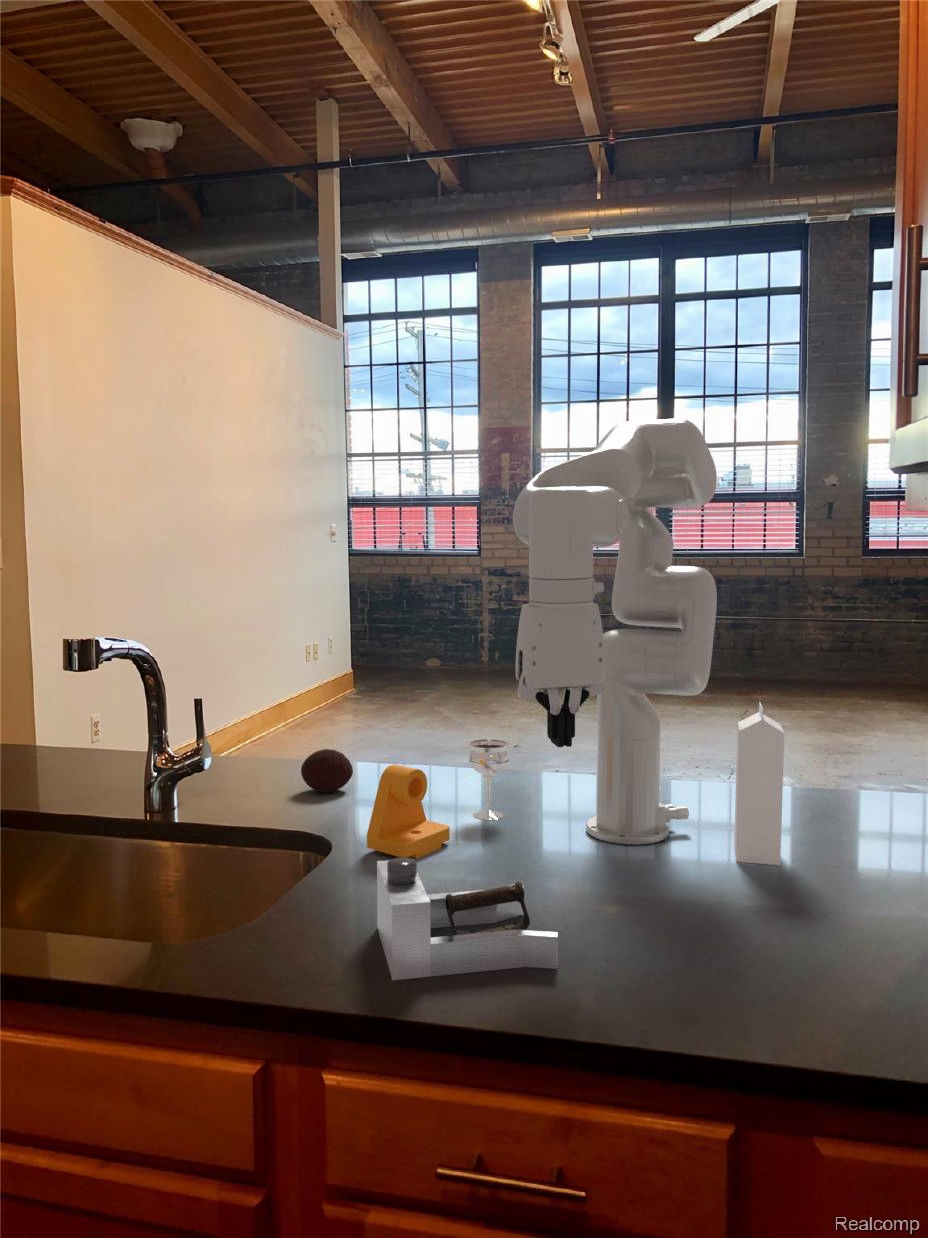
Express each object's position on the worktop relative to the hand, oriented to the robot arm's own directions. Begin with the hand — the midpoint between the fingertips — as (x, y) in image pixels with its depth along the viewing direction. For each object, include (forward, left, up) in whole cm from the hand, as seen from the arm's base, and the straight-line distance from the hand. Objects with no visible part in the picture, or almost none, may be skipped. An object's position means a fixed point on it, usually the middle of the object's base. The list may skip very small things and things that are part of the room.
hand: (561, 744), depth 109 cm
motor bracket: (+13, +7, -21) cm, 26 cm away
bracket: (+14, -26, -21) cm, 36 cm away
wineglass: (-1, -39, -21) cm, 44 cm away
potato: (+24, -59, -21) cm, 67 cm away
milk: (-34, -12, -21) cm, 41 cm away
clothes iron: (+12, +9, -21) cm, 26 cm away
